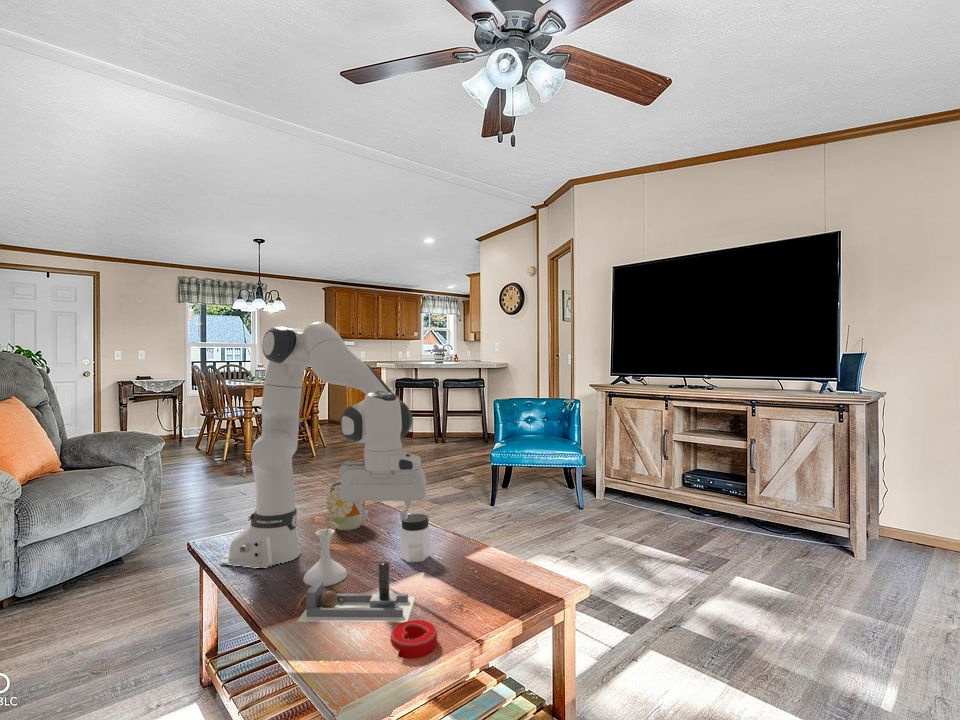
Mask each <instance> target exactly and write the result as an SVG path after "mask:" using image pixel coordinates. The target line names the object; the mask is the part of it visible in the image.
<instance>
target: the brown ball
mask: <svg viewBox="0 0 960 720" xmlns="http://www.w3.org/2000/svg"><path fill="white" fill-rule="evenodd" d="M337 594H338V593H336V591H335V590H334V591H333V590H325V592H324V591H323V594H322V596H321V598H320V604H321V606H322V607H323V608H333V607H334V606H335V605H336V603H337V600H338V598H337Z"/></svg>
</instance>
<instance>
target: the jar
mask: <svg viewBox="0 0 960 720" xmlns="http://www.w3.org/2000/svg"><path fill="white" fill-rule="evenodd" d="M399 533H400V534H399V536H400V537H399V540H400V543H399V548H400V549H399V550H400V553H399V554H400V555H399V556H400V558H401V559H402V560H404V561H405V562H407V563H420V562H424V561H425V560H427V559H428V558H430V556H431V539H430V537H431V535H430V534H431V527H430V525H429V517H428V515H425V514H423V513H410V514H408V518H407V519H401V526H400V527H399Z"/></svg>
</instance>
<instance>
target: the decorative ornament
mask: <svg viewBox="0 0 960 720" xmlns="http://www.w3.org/2000/svg"><path fill="white" fill-rule="evenodd" d="M410 638H412V639H410ZM390 644H391V645H392V647H394V648H396V649H397V650H399V651H398V654H397V657H399V658H401V659H408V660H412V659H413V660H414V659H420V658H423V657H425V656H426V657H427V656H428V655H430V654H432V653H433V652H434V651H435V650H436V648H437V647H438V646H437V645H438V630H437V628H436V626H435V625H434V624H433V623H431V622H430V621H427V620H424V619H410V621H409V620H408V621H406V622H399V624H397V625H395V626H394V627H393V629H392V631H391V633H390Z"/></svg>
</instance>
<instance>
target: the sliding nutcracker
mask: <svg viewBox="0 0 960 720" xmlns="http://www.w3.org/2000/svg"><path fill="white" fill-rule="evenodd" d="M323 593H324V586H323V582H314V584H313V585H312V586H310V587H309V588H308V590H307V591H306V592H305V595H306V596H305V597H306V598H305V599H306V600H305V601H306V603H305V605H306V606H305V607H306V608H305V609H304V611H303V613H301V615H300V616H299V618H298V619H297V620H296V622H298V623H301V622H302V623H403V622H406V621H410V620H412V619H411V618H412V614H413V612H414V608H415V605H416V600H415V599H416V596H417V595H416V596H415V595H413V596H410V595H409V593H397V594H398V606H397V608H370V599H371V597H372V595H373V594H374V593H336V594H337V598H338V600H337V603H336V605H335V606H334V607H333V608H323V607H322V606H321V604H320V598H321V596H322V594H323Z"/></svg>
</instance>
